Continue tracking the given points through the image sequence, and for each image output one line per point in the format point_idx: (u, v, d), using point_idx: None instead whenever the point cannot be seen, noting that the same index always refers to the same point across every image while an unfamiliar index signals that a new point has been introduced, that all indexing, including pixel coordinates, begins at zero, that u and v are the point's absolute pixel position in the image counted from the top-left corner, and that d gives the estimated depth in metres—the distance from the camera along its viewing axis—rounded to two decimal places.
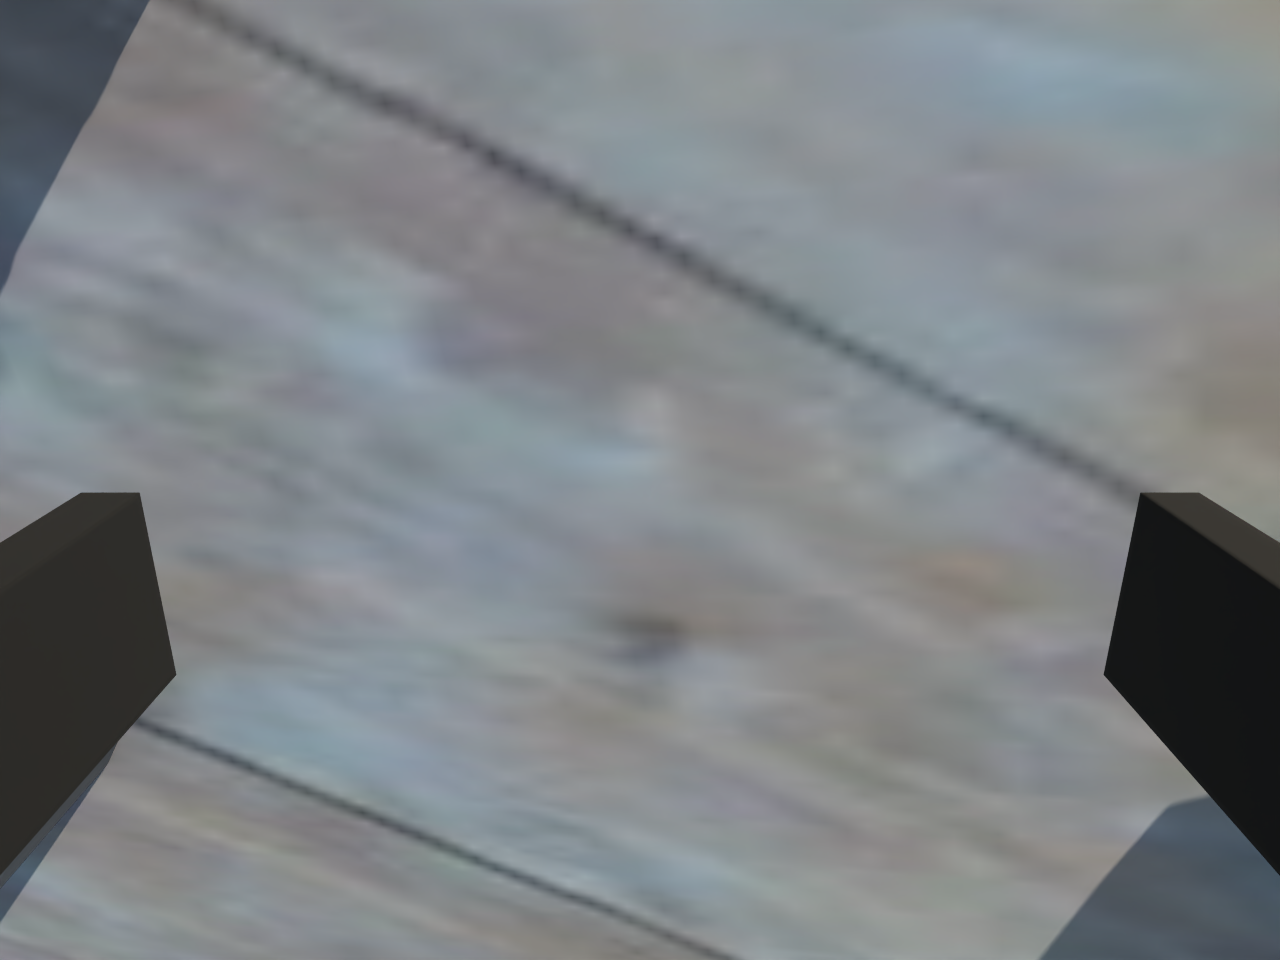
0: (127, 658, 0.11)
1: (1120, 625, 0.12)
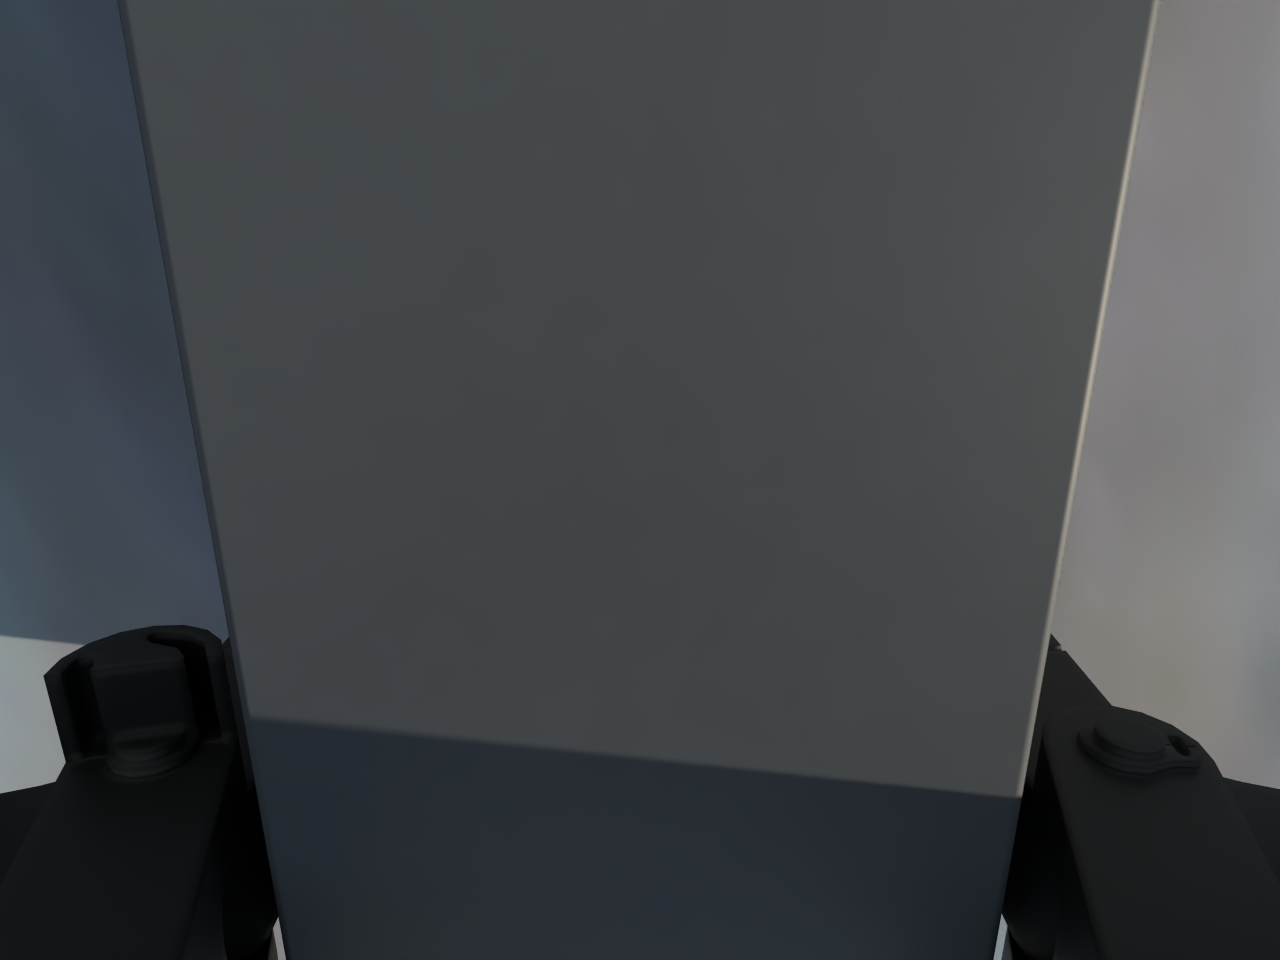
0: None
1: None
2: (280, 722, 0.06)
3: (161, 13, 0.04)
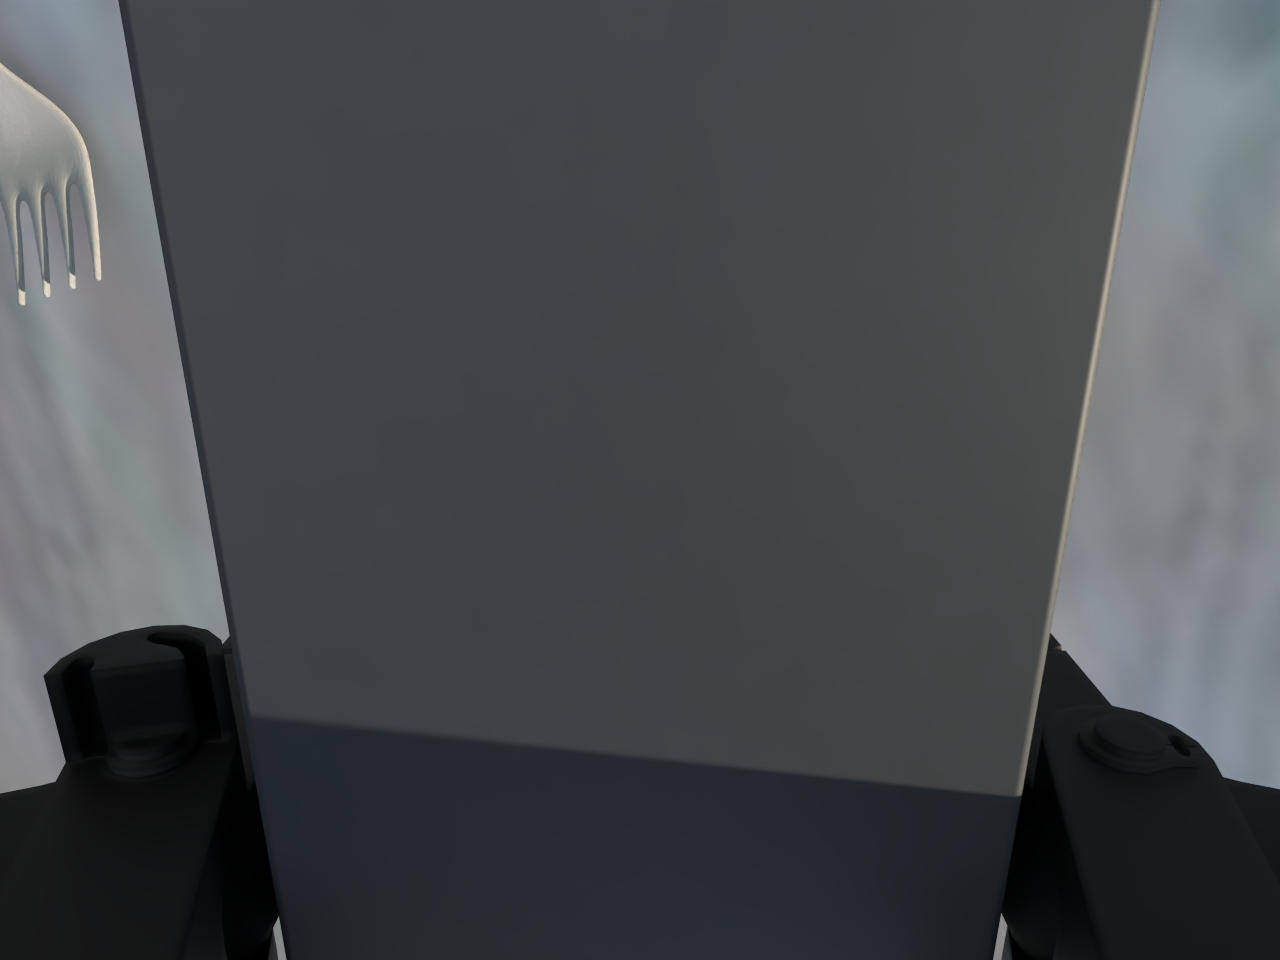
0: None
1: None
2: (280, 718, 0.06)
3: (161, 8, 0.04)
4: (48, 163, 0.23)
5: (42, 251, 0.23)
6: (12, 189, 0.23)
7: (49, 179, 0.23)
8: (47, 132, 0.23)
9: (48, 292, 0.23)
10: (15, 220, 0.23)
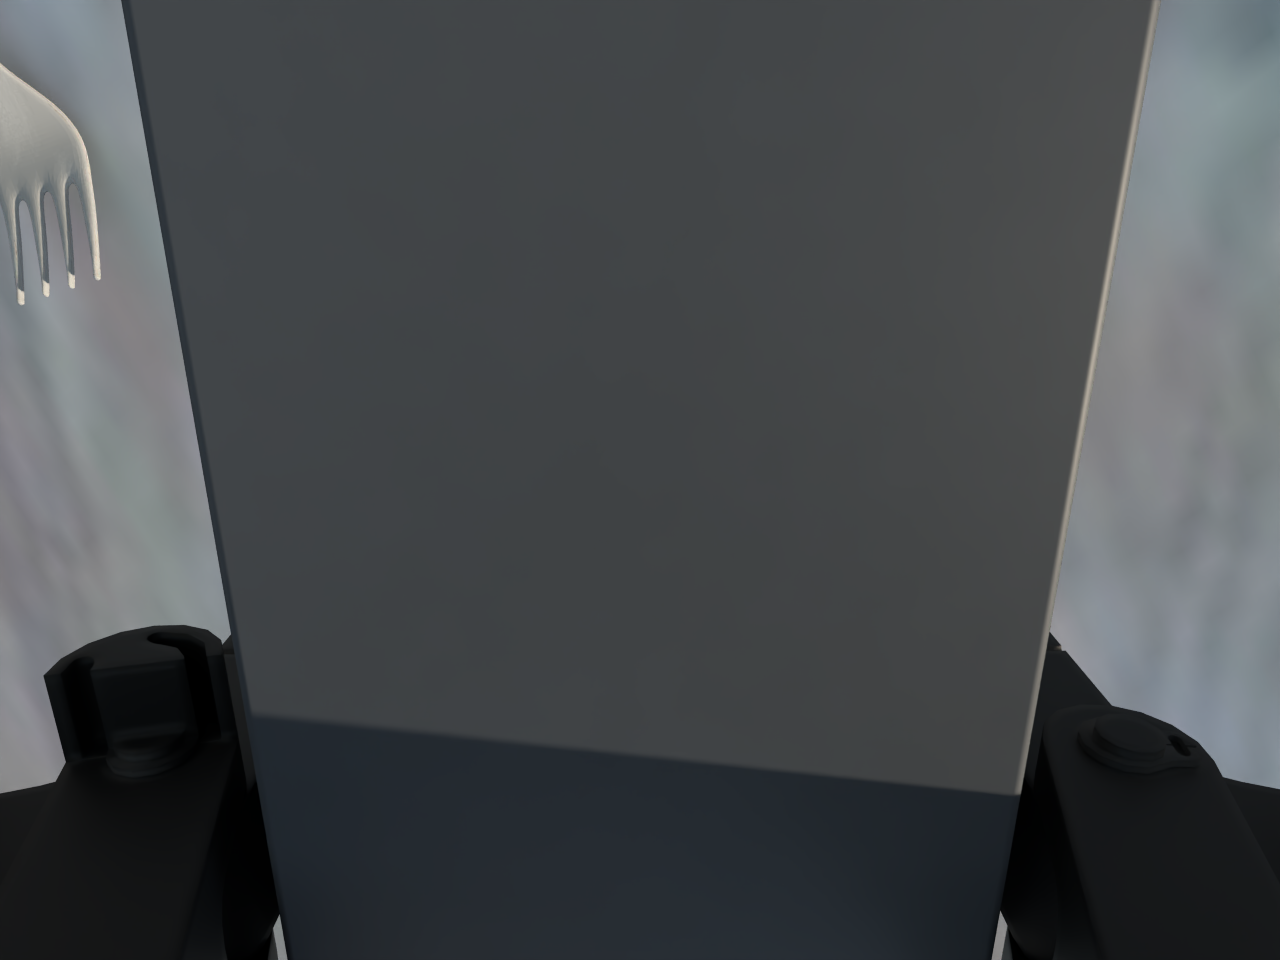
0: None
1: None
2: (281, 716, 0.06)
3: (163, 7, 0.04)
4: (47, 163, 0.23)
5: (41, 251, 0.23)
6: (11, 189, 0.23)
7: (48, 178, 0.23)
8: (46, 132, 0.23)
9: (47, 292, 0.23)
10: (14, 220, 0.23)
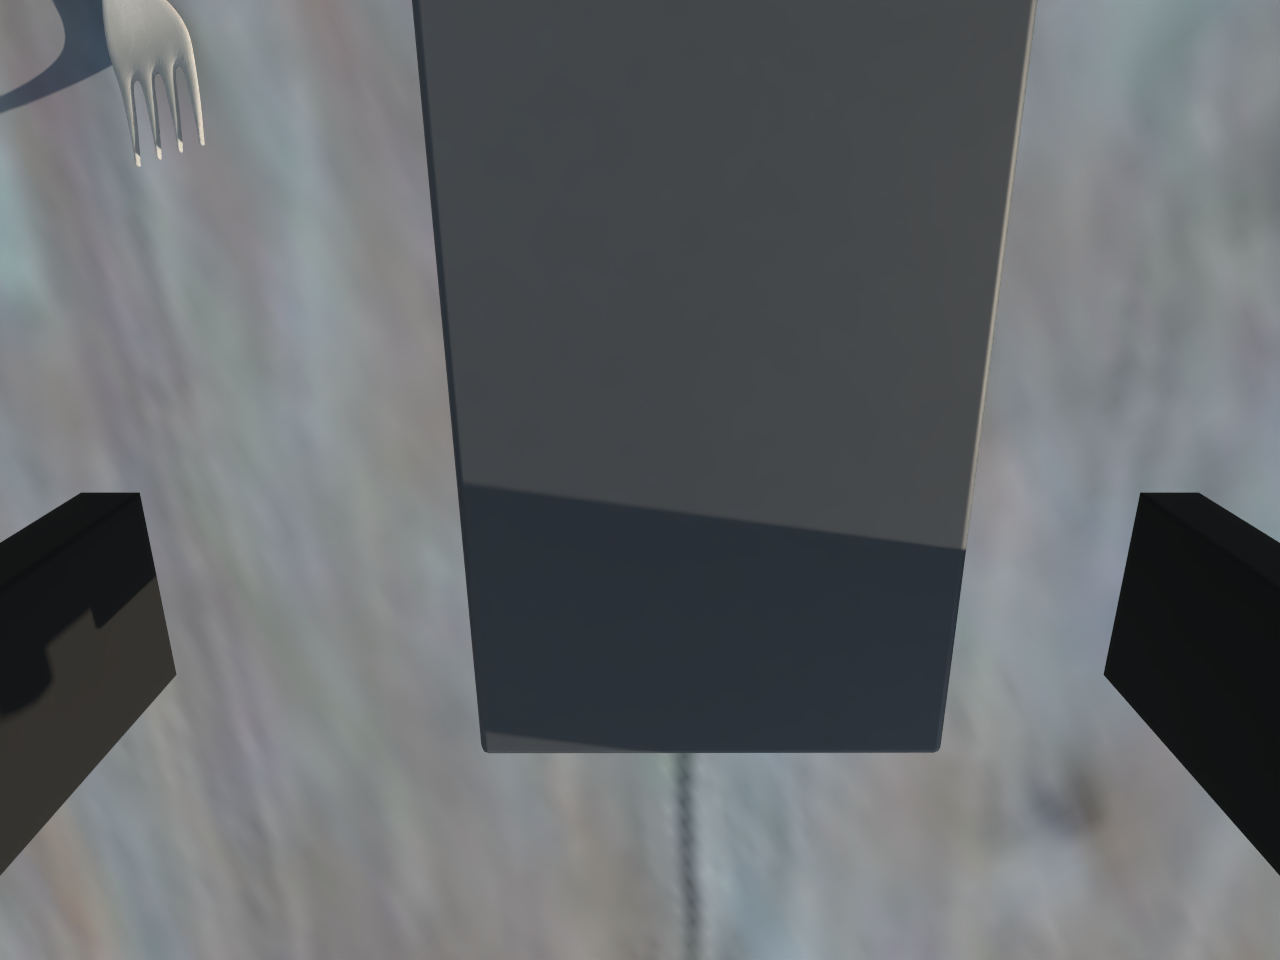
0: (127, 658, 0.11)
1: (1120, 625, 0.12)
2: (459, 210, 0.08)
3: None
4: (158, 48, 0.28)
5: (154, 122, 0.27)
6: (127, 71, 0.28)
7: (159, 61, 0.28)
8: (157, 22, 0.27)
9: (160, 155, 0.27)
10: (130, 96, 0.28)
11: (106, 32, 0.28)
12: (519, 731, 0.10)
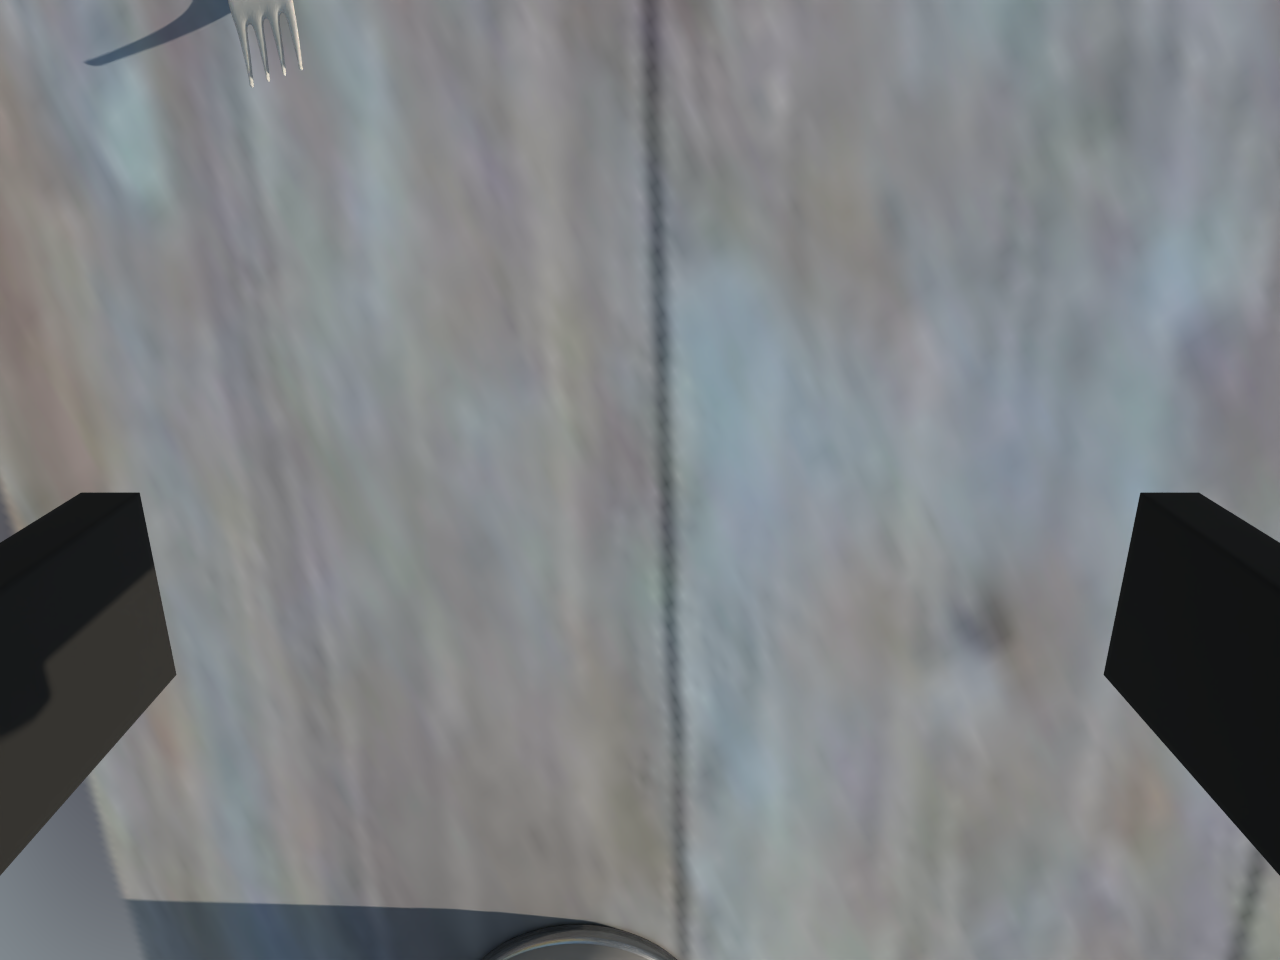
0: (127, 658, 0.11)
1: (1120, 626, 0.12)
2: None
3: None
4: None
5: (264, 53, 0.36)
6: (243, 16, 0.37)
7: (267, 9, 0.37)
8: None
9: (269, 78, 0.36)
10: (245, 35, 0.37)
11: None
12: None
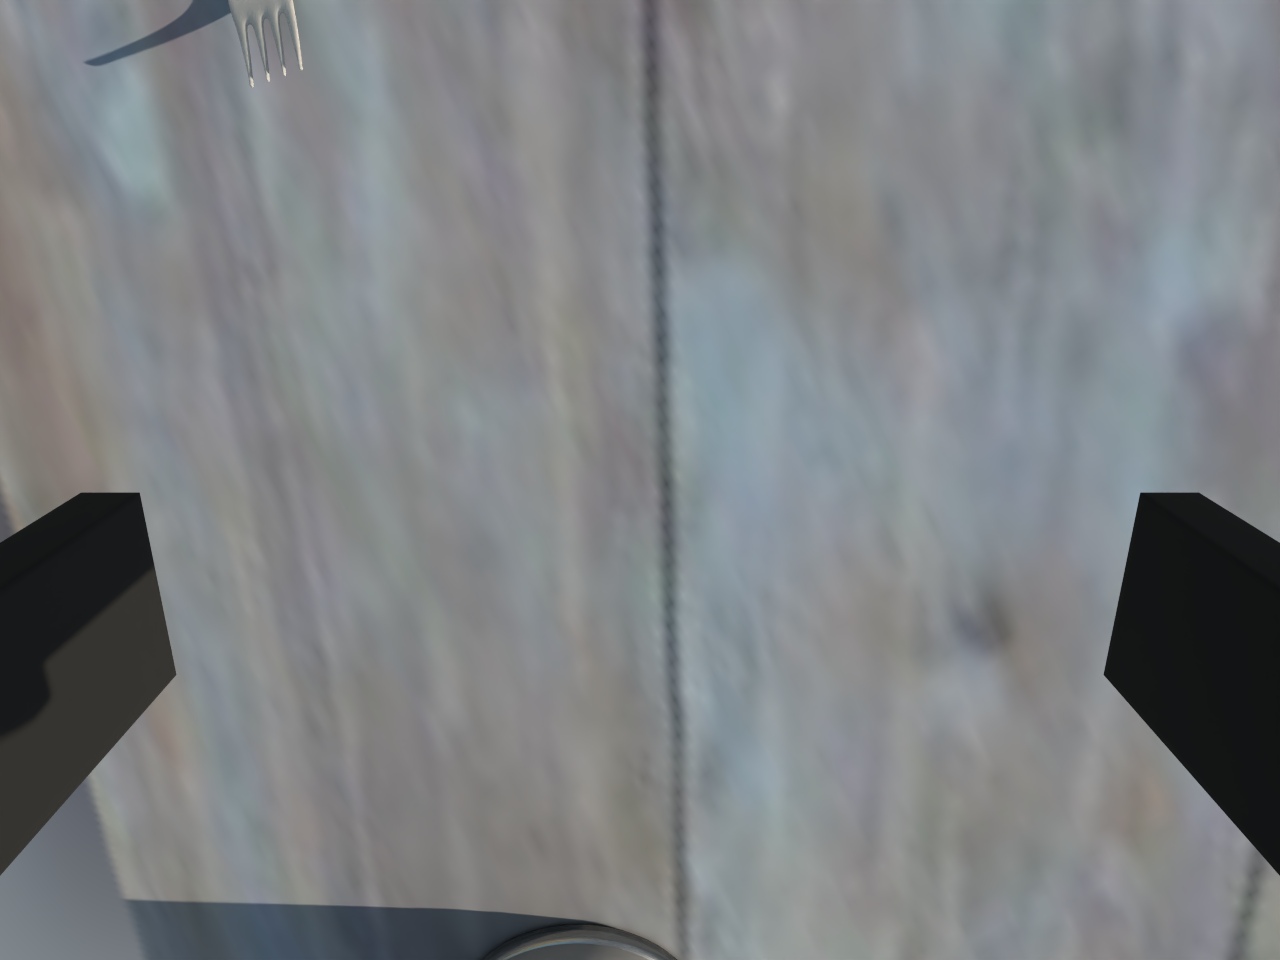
0: (127, 658, 0.11)
1: (1120, 626, 0.12)
2: None
3: None
4: None
5: (264, 53, 0.36)
6: (243, 16, 0.37)
7: (267, 9, 0.37)
8: None
9: (269, 78, 0.36)
10: (245, 35, 0.37)
11: None
12: None
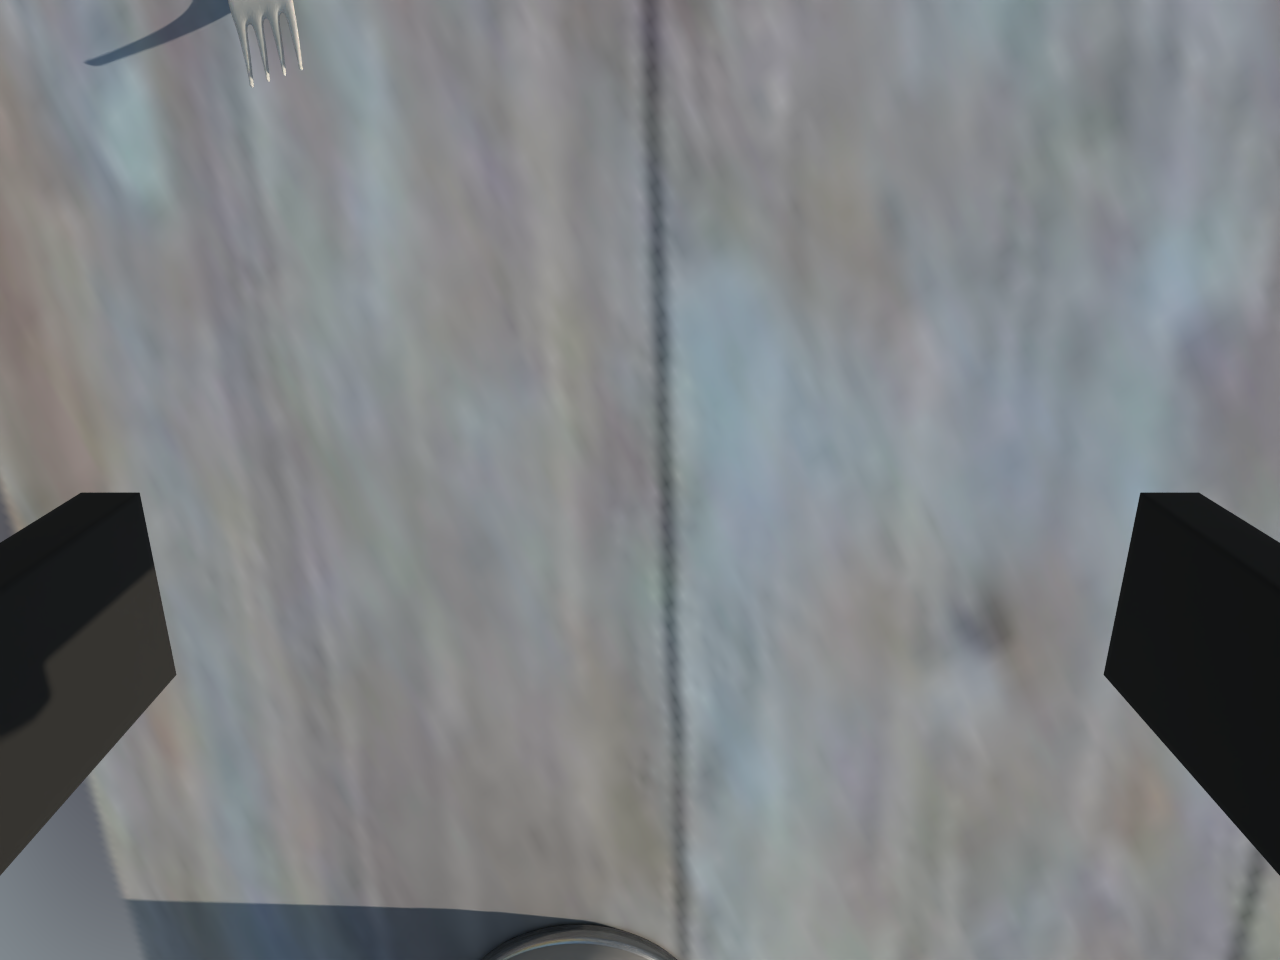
0: (127, 658, 0.11)
1: (1120, 626, 0.12)
2: None
3: None
4: None
5: (264, 53, 0.36)
6: (243, 16, 0.37)
7: (267, 9, 0.37)
8: None
9: (269, 78, 0.36)
10: (245, 35, 0.37)
11: None
12: None
